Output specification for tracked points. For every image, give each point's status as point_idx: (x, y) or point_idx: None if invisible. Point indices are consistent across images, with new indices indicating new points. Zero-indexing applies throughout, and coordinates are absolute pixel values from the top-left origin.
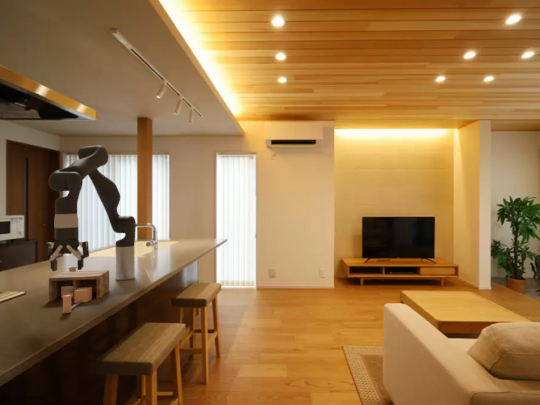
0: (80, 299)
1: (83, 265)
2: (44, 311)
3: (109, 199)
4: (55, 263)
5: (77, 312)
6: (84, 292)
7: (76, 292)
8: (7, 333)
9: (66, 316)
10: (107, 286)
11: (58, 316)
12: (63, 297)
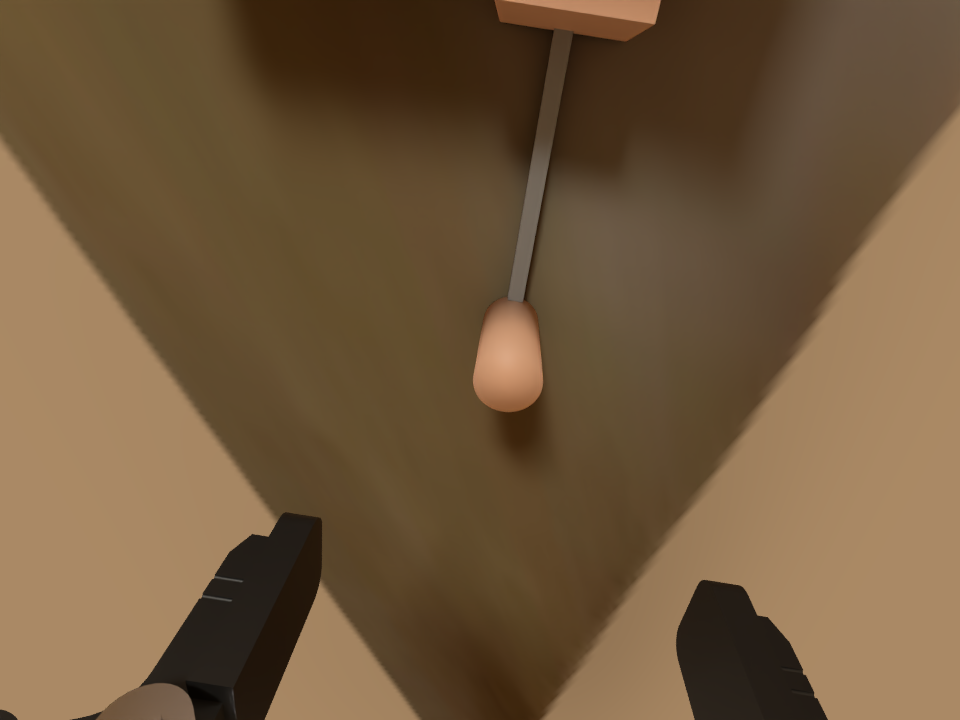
0: (560, 26)
1: (794, 658)
2: (321, 224)
3: None
4: (268, 675)
5: (584, 338)
6: (615, 23)
7: (519, 6)
8: None
9: None
10: None
11: None
12: (484, 399)
